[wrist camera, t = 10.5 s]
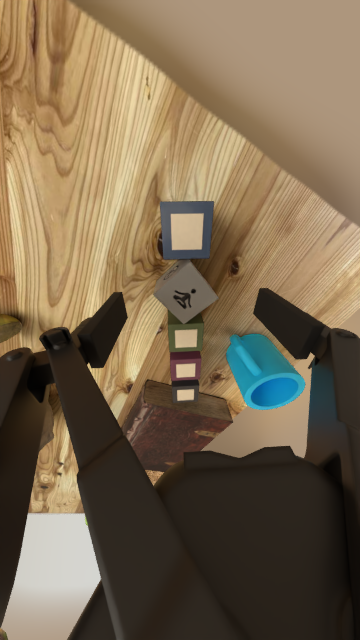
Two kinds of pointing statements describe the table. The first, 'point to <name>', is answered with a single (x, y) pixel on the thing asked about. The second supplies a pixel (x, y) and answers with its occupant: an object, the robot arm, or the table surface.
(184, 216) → the block
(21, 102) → the table surface
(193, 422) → the hardback book
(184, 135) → the table surface
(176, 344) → the block
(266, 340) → the mug
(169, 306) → the dice cube
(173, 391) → the block
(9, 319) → the lime
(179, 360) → the block
